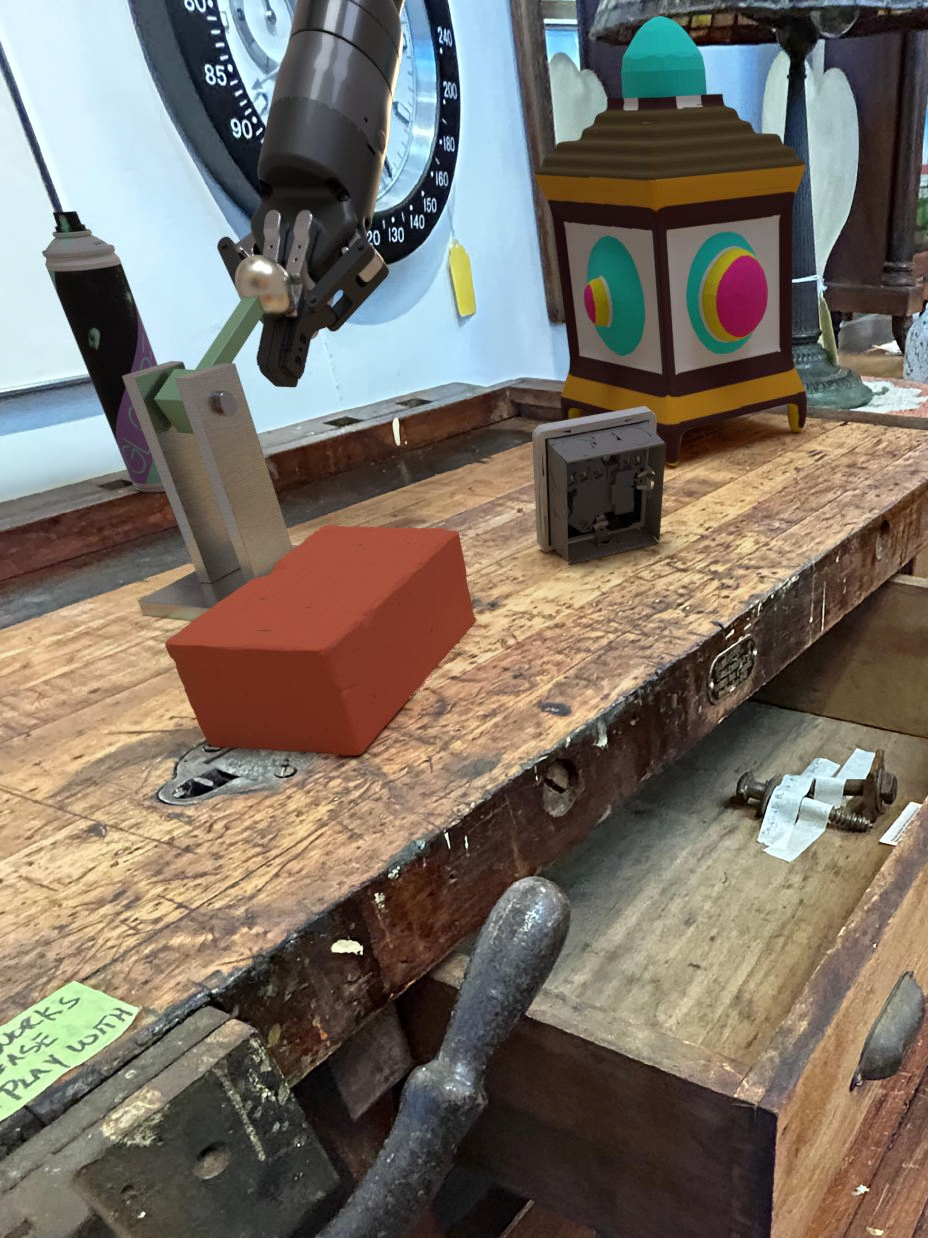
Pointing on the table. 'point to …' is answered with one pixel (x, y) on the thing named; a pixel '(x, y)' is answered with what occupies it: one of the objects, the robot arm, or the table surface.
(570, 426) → the electrical switch
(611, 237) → the decorative lantern
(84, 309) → the spray can
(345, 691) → the brick
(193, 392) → the switch bracket
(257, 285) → the switch lever
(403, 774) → the table surface
